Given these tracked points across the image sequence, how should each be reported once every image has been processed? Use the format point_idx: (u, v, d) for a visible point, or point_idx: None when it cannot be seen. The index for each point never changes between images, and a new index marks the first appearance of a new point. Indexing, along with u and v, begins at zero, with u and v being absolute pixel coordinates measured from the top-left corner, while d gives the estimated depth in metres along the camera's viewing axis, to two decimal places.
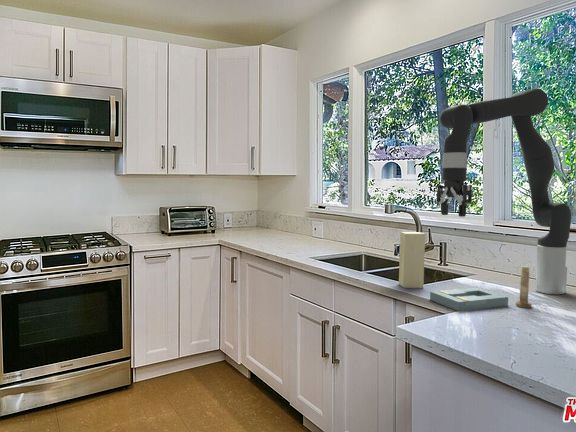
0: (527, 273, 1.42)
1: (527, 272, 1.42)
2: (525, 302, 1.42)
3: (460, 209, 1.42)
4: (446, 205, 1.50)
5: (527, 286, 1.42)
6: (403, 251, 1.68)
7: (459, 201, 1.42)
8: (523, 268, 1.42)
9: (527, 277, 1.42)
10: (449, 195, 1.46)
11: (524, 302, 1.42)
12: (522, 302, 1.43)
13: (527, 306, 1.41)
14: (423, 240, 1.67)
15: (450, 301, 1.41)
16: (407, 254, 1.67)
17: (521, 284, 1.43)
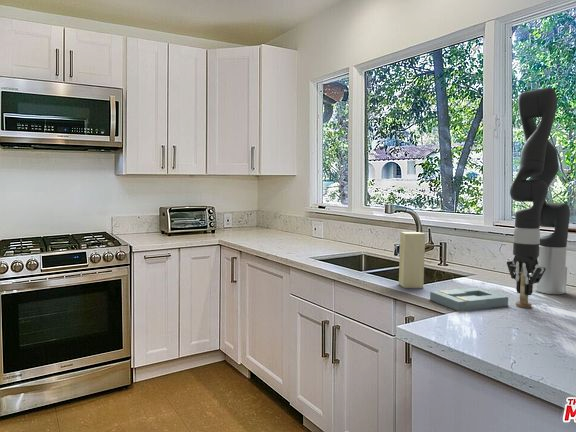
0: None
1: None
2: (525, 302, 1.42)
3: (526, 288, 1.41)
4: None
5: None
6: (403, 251, 1.68)
7: (526, 280, 1.41)
8: None
9: None
10: (523, 269, 1.42)
11: (524, 302, 1.42)
12: (522, 302, 1.43)
13: (527, 306, 1.41)
14: (423, 240, 1.67)
15: (450, 301, 1.41)
16: (407, 254, 1.67)
17: (521, 284, 1.43)
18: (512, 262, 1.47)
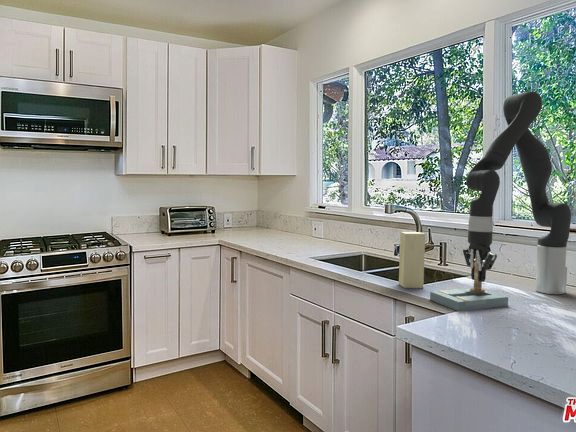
0: None
1: None
2: (478, 288, 1.47)
3: (480, 275, 1.46)
4: None
5: None
6: (403, 251, 1.68)
7: (479, 266, 1.46)
8: None
9: None
10: (477, 256, 1.47)
11: (477, 288, 1.47)
12: (476, 288, 1.47)
13: (480, 292, 1.46)
14: (423, 240, 1.67)
15: (450, 301, 1.41)
16: (407, 254, 1.67)
17: (475, 271, 1.48)
18: (468, 250, 1.52)
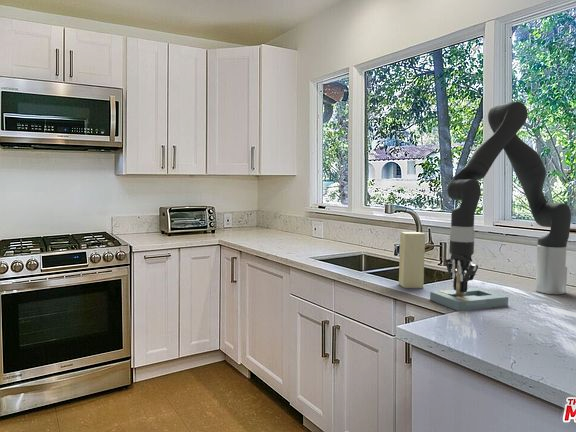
0: None
1: None
2: None
3: (461, 285, 1.44)
4: None
5: None
6: (403, 251, 1.68)
7: (461, 277, 1.43)
8: None
9: None
10: (458, 266, 1.45)
11: None
12: None
13: None
14: (423, 240, 1.67)
15: (450, 301, 1.41)
16: (407, 254, 1.67)
17: (457, 281, 1.45)
18: (450, 260, 1.50)
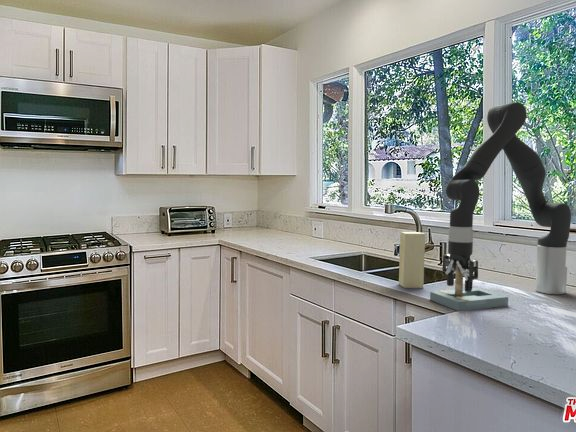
0: None
1: None
2: None
3: (466, 284, 1.41)
4: (452, 276, 1.49)
5: (461, 284, 1.45)
6: (403, 251, 1.68)
7: (465, 276, 1.41)
8: (457, 266, 1.44)
9: (461, 275, 1.44)
10: (455, 268, 1.46)
11: None
12: None
13: None
14: (423, 240, 1.67)
15: (450, 301, 1.41)
16: (407, 254, 1.67)
17: (456, 282, 1.45)
18: (448, 257, 1.50)
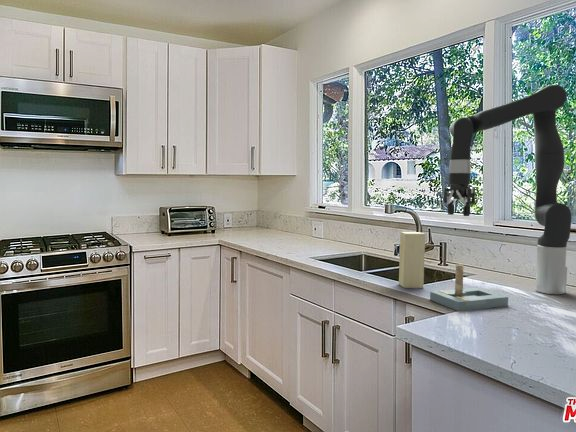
0: (461, 271, 1.44)
1: (461, 270, 1.44)
2: None
3: (465, 209, 1.61)
4: (452, 206, 1.69)
5: (461, 284, 1.45)
6: (403, 251, 1.68)
7: (464, 202, 1.61)
8: (457, 266, 1.44)
9: (461, 275, 1.44)
10: (455, 197, 1.65)
11: None
12: None
13: None
14: (423, 240, 1.67)
15: (450, 301, 1.41)
16: (407, 254, 1.67)
17: (456, 282, 1.45)
18: (449, 189, 1.70)
